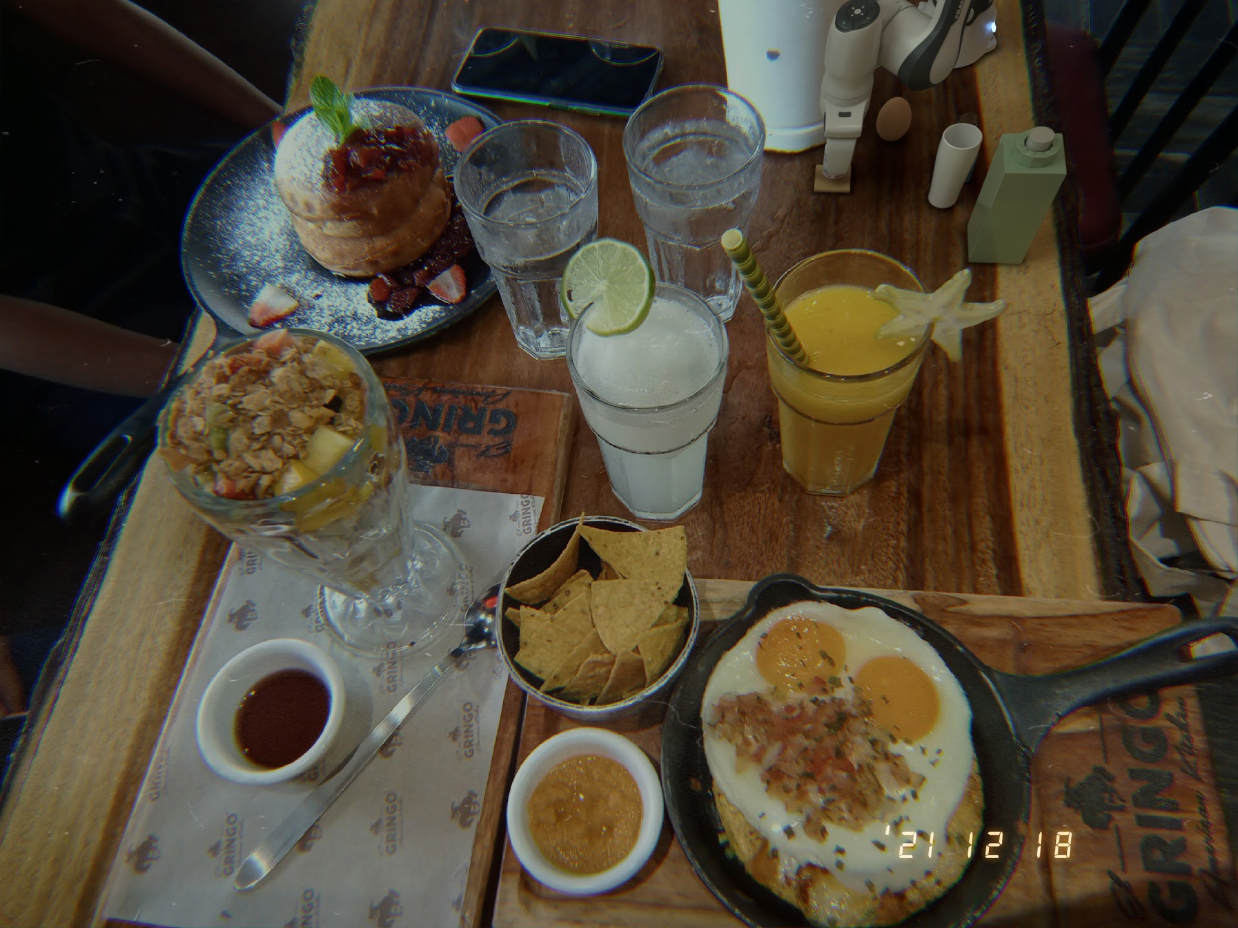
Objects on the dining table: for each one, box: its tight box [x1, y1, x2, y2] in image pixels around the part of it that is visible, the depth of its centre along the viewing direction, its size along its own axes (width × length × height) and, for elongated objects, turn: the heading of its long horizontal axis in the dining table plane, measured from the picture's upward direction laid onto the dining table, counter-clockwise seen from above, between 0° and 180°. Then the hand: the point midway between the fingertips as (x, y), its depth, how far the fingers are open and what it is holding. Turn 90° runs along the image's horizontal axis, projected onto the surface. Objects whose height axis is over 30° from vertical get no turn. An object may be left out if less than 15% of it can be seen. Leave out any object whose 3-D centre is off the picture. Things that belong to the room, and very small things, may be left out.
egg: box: [875, 96, 913, 142], centre depth 148 cm, size 7×7×9 cm
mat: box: [813, 164, 852, 193], centre depth 149 cm, size 7×7×1 cm
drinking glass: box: [927, 122, 983, 209], centre depth 136 cm, size 7×7×15 cm
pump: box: [1025, 125, 1055, 152], centre depth 116 cm, size 4×4×2 cm
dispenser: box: [966, 128, 1068, 265], centre depth 126 cm, size 9×9×23 cm
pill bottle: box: [822, 143, 844, 179], centre depth 144 cm, size 5×5×8 cm
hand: (836, 159), depth 145 cm, fingers closed on pill bottle, 5 cm apart
